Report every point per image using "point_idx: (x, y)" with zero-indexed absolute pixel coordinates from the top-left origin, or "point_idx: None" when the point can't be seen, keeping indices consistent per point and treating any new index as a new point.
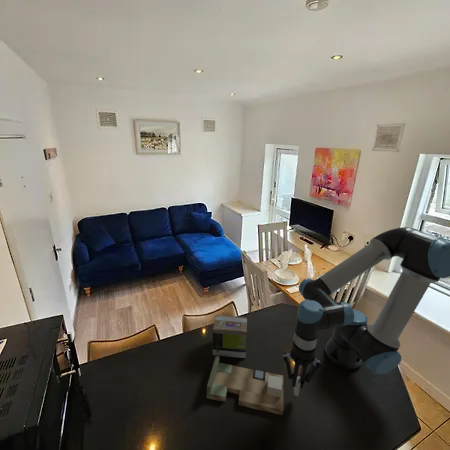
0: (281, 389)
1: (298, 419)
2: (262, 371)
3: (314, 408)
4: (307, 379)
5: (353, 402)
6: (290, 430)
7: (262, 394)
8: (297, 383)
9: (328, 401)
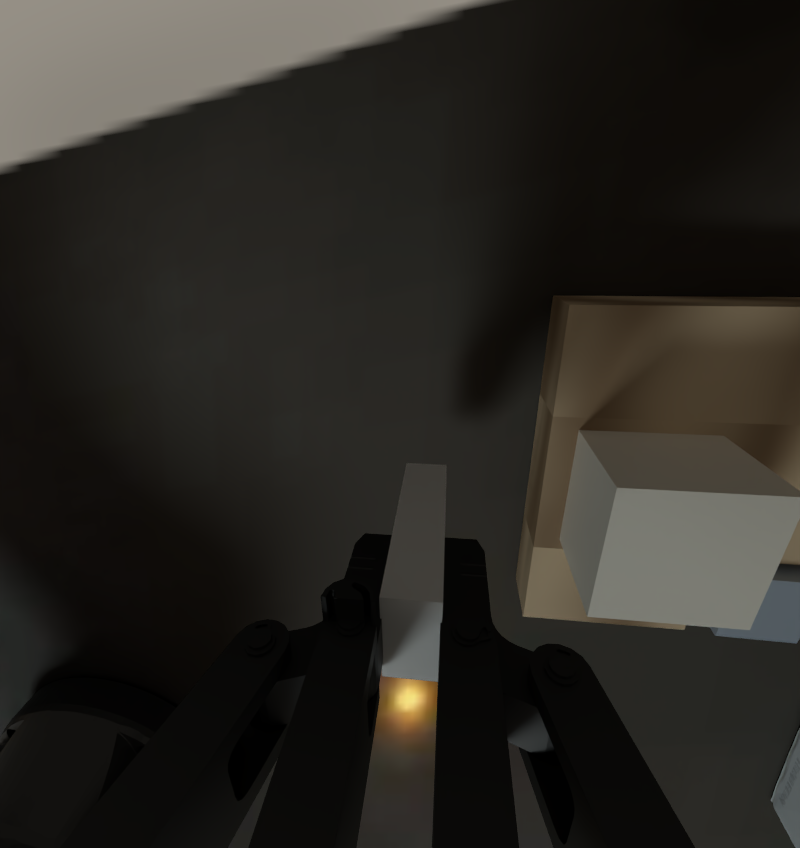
0: (618, 489)
1: (411, 288)
2: (727, 636)
3: (281, 407)
4: (253, 684)
5: (34, 493)
6: (494, 161)
7: (775, 429)
8: (424, 587)
9: (186, 475)
